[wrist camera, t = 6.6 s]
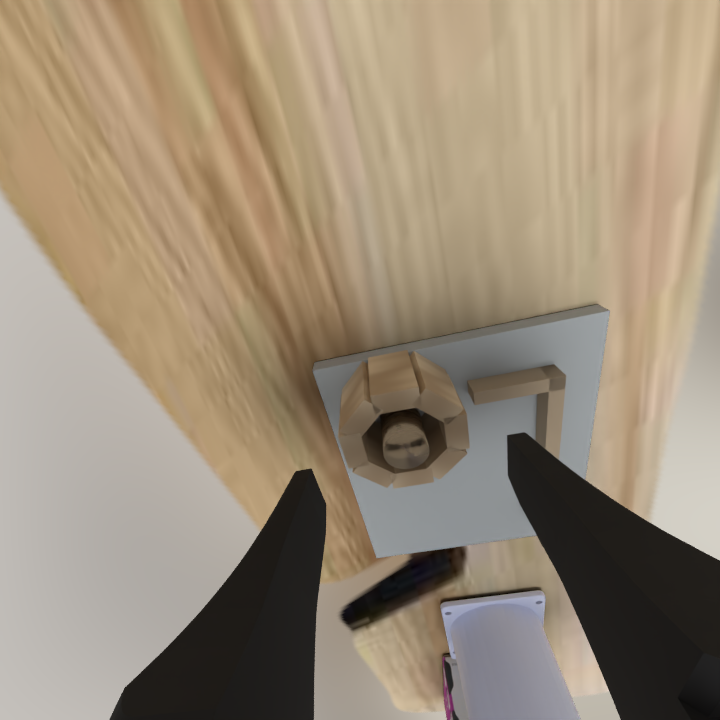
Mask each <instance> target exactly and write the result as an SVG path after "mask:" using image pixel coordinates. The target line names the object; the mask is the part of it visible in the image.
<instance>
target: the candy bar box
mask: <svg viewBox="0 0 720 720" xmlns="http://www.w3.org/2000/svg"><path fill="white" fill-rule="evenodd" d="M443 679H444V704H445V710H446V717H447V720H469V718H468V713H467V709H466V704H465V699H464V694H463V689H462V685H461V680H460V675H459V670H458V665H457V660H456V659H452V658H451V655H444V656H443Z"/></svg>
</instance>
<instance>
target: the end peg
mask: <svg viewBox="0 0 720 720" xmlns="http://www.w3.org/2000/svg"><path fill="white" fill-rule="evenodd" d="M380 424H381V434H382V444H383V454H384V458H385V460H386V462H387V463H388V464H390V465H391V466H393V467H395V468H399V469H411V468H415V467H417V466H419V465H421V464H422V463H424V462H425V461H426V459H427V458H428V456H429V452H430V450H429V445H428V441H427V438H426V434H425V430H424V427H423V423H422V419H421V416H420V412H419V409H418V408H411V409H405V410H400V411H394V412H389V413H383V414H380Z"/></svg>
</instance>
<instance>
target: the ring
mask: <svg viewBox="0 0 720 720" xmlns="http://www.w3.org/2000/svg"><path fill="white" fill-rule="evenodd" d="M411 408H418V409H420V410H422V411H423V412H425V413H424V414H423V415H422V417H421V419H422V423H423V427H424V430H425V434H426V438H427V441H428V445H429V450H430V452H429V456H428V458H427V459H426V461H425V462H424V463H422V464H421V465H419V466H417V467H415V468H411V469H399V468H395V467H393V466H391V465H390V464H388V463H387V462H386V460H385V458H384V454H383V444H382V434H381V424H380V423H378V422H376V421H375V420H376V419H377V418H378V416H379V415H380V414H383V413H389V412H394V411H400V410H405V409H411ZM338 438H339V441H340V444H341V447H342V450H343V453H344V456H345V459H346V462H347V465H348V468H349V469H350V468H353V473H354V474H357V475H359V476H361V477H363V478H366V479H368V480H370V481H372V482H375V483H377V484H379V485H381V486H384V487H386V488H388V487H389V486H390V485H391V484H392V485H393V489H396V488H402V487H408V486H414V485H421V484H427V483H433V482H434V478H433V477H435V478H438V479H441V478H442V477H443V476H444V475H445V474H446V473H448V472H449V471H450V470H451V469H452V468H453V467H454V466H455V465H456V464H457V463H458V462H459V461H460V460H461V459H462V458H463V457H465V456H466V455H467V454H468V453H467V451H466V449H470V444H469V432H468V420H467V413H466V411H465V409H464V407H463V405H462V402H461V400H460V398H459V396H458V394H457V392H456V390H455V388H454V385H453V383H452V381H451V379H450V377H449V375H448V374H447V372H446V370H445V369H444V368H442V367H440V366H439V365H437V364H435V363H433V362H432V361H430V360H428V359H427V358H425V357H423V356H422V355H420V354H418V353H417V352H415V351H413V352H412V354H411V355H410V356H409V353H408V350H404V351H399V352H394V353H389V354H384V355H379V356H374V357H369V358H368V364H367V363H365V362H363V361H362V362H361V364H360V365H359V367H358V368H357V369H356V371H355V372H354V373H353V375H352V376H351V378H350V379H349V380H348V382H347V383H346V384H345V386H344V387H343V389H342V394H341V403H340V417H339V431H338Z"/></svg>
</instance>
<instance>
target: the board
mask: <svg viewBox="0 0 720 720" xmlns="http://www.w3.org/2000/svg"><path fill="white" fill-rule="evenodd" d="M609 314H610V310H608V309H606V308H604V307H602V306H600V305H598V304H597V305H592V306H587V307H582V308H578V309H573V310H568V311H563V312H558V313H553V314H548V315H543V316H538V317H534V318H529V319H524V320H519V321H514V322H509V323H504V324H499V325H494V326H490V327H485V328H480V329H475V330H470V331H465V332H460V333H455V334H450V335H446V336H441V337H436V338H431V339H426V340H421V341H416V342H411V343H406V344H402V345H397V346H392V347H387V348H382V349H377V350H372V351H367V352H362V353H358V354H353V355H348V356H343V357H338V358H333V359H328V360H323V361H318V362H314V367H313V374H314V377H315V379H316V382H317V385H318V388H319V391H320V394H321V397H322V400H323V403H324V406H325V409H326V412H327V414H328V417H329V420H330V423H331V426H332V429H333V432H334V435H335V438H336V441H337V444H338V447H339V450H340V452H341V455H342V458H343V461H344V464H345V467H346V470H347V473H348V476H349V479H350V482H351V485H352V487H353V490H354V493H355V496H356V499H357V502H358V505H359V508H360V511H361V514H362V517H363V520H364V522H365V525H366V528H367V531H368V534H369V537H370V540H371V543H372V546H373V549H374V552H375V555H376V557H377V558H381V557H388V556H395V555H402V554H410V553H417V552H424V551H431V550H438V549H445V548H452V547H459V546H466V545H473V544H480V543H487V542H495V541H502V540H509V539H516V538H523V537H530V536H537V535H536V533H535V531H534V529H533V527H532V526H531V524H530V522H529V520H528V518H527V517H526V515H525V513H524V511H523V509H522V507H521V506H520V504H519V501H518V499H517V497H516V494H515V492H514V490H513V487H512V485H511V482H510V480H509V477H508V461H507V435H511V434H517V433H522V432H525V433H527V434H528V435H529V436H531V437H532V438H533V439H534V440H535V441H537V442H538V443H539V444H540V445H541V446H542V447H544V448H545V449H546V450H547V451H549V452H550V453H551V454H552V455H553V456H555V457H556V458H557V459H558V460H560V461H561V462H562V463H563V464H565V465H566V466H567V467H569V468H570V469H571V470H573V471H574V472H575V473H577V474H578V475H579V476H580V477H582V478H583V479H584V480H585V478H586V471H587V464H588V457H589V450H590V443H591V437H592V430H593V423H594V416H595V409H596V402H597V396H598V389H599V382H600V375H601V368H602V362H603V355H604V348H605V341H606V334H607V327H608V321H609ZM404 350H408V353H409V356H410V355H411V354H412V352H413V351H415V352H417V353H418V354H420V355H422V356H423V357H425V358H427V359H428V360H430V361H432V362H433V363H435V364H437V365H439V366H440V367H442V368H444V369H445V370H446V372H447V374H448V375H449V377H450V379H451V381H452V383H453V385H454V388H455V390H456V392H457V394H458V396H459V398H460V400H461V402H462V405H463V407H464V409H465V411H466V413H467V420H468V432H469V444H470V449H466V451H467V453H468V454H467V455H466V456H465V457H463V458H462V459H461V460H460V461H459V462H458V463H457V464H456V465H455V466H454V467H453V468H452V469H451V470H450V471H449V472H448V473H446V474H445V475H444V476H443V477H442V478H441V479H438V478H435V477H433V478H434V482H433V483H427V484H421V485H414V486H408V487H402V488H396V489H393V485H392V484H391V485H390V486H389V487H388V488H386V487H384V486H381V485H379V484H377V483H375V482H372V481H370V480H368V479H366V478H363V477H361V476H359V475H357V474H354V473H353V468H350V469H349V468H348V465H347V462H346V459H345V456H344V453H343V450H342V447H341V444H340V441H339V438H338V431H339V417H340V403H341V394H342V389H343V387H344V386H345V384H346V383H347V382H348V380H349V379H350V378H351V376H352V375H353V373H354V372H355V371H356V369H357V368H358V367H359V365H360V364H361V362H362V361H363V362H365V363H367V364H368V358H369V357H374V356H379V355H384V354H389V353H394V352H399V351H404ZM419 412H420V416H421V417H422V415H423V414H424V413H425V412H423V411H422V410H420V409H419ZM375 421H376V422H378V423H380V415H379V416H378V418H377V419H376V420H375ZM542 546H543V545H542Z"/></svg>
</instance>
